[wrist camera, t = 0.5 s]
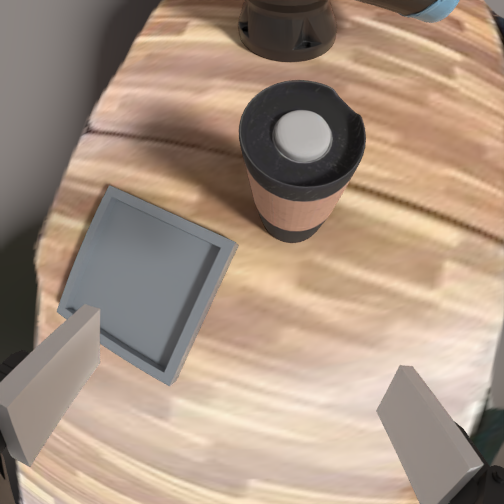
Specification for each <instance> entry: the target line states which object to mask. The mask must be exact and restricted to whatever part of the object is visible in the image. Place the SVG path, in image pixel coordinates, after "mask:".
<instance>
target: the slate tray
mask: <svg viewBox="0 0 504 504" xmlns="http://www.w3.org/2000/svg"><path fill="white" fill-rule="evenodd" d="M238 246H239V245H238V244H237V243H236V242H234V241H232V240H230V239H227V238H225V237H223V236H221V235H219V234H216V233H214V232H212V231H210V230H208V229H205V228H203V227H201V226H199V225H196V224H194V223H192V222H190V221H188V220H185V219H183V218H181V217H179V216H177V215H174V214H172V213H170V212H168V211H166V210H163V209H161V208H159V207H157V206H154V205H152V204H150V203H148V202H146V201H143V200H141V199H139V198H137V197H135V196H132V195H130V194H128V193H126V192H123V191H121V190H119V189H117V188H115V187H112V186H110V185H109V187H108V189H107V191H106V193H105V195H104V197H103V199H102V201H101V203H100V205H99V207H98V209H97V211H96V214H95V216H94V218H93V220H92V222H91V224H90V227H89V229H88V231H87V233H86V236H85V238H84V240H83V243H82V245H81V247H80V250H79V252H78V255H77V257H76V260H75V262H74V265H73V267H72V270H71V272H70V275H69V278H68V280H67V283H66V286H65V289H64V292H63V294H62V297H61V300H60V303H59V306H58V309H57V312H58V313H59V314H60V315H61V316H63V317H64V318H65V319H68V318H69V317H70V316H72V315H73V314H74V313H75V312H76V311H77V310H78V309H80V308H81V307H82V306H83V305H84V304H86V305H89V306H92V307H96V308H99V309H100V344H102V345H103V346H104V347H106V348H107V349H109V350H110V351H112V352H114V353H115V354H117V355H118V356H120V357H121V358H123V359H124V360H126V361H128V362H129V363H131V364H132V365H134V366H136V367H137V368H139V369H140V370H142V371H144V372H145V373H147V374H149V375H151V376H152V377H154V378H156V379H157V380H159V381H161V382H163V383H164V384H166V385H168V386H171V385H172V384H173V383H174V382H176V380H177V378H178V376H179V374H180V372H181V369H182V367H183V365H184V363H185V360H186V358H187V356H188V354H189V352H190V350H191V347H192V345H193V343H194V341H195V339H196V336H197V334H198V332H199V330H200V328H201V325H202V323H203V321H204V319H205V317H206V315H207V312H208V310H209V308H210V306H211V304H212V302H213V299H214V297H215V295H216V293H217V291H218V289H219V287H220V284H221V282H222V280H223V278H224V276H225V274H226V272H227V269H228V267H229V265H230V263H231V261H232V259H233V257H234V255H235V252H236V250H237V248H238Z"/></svg>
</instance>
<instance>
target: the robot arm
mask: <svg viewBox="0 0 504 504" xmlns="http://www.w3.org/2000/svg"><path fill="white" fill-rule="evenodd" d="M356 1H360V2H363V3H367V4H370V5H374V6H377V7H381V8H384V9H387V10H390V11H393V12H396V13H398V14H400V15H402V16H404V17H412V18H415V19H418V20H421V21H424V22H429V23H434V22H438V21H441V20H443V19H444V18H446V17H447V16H448V15H449V14H450V13H451V12H452V11H453V10H454V8H455V7H456V5H457V4H458V2H459V0H356ZM238 27H239V33H240V38H241V40H242V42H243V43H244V45H245V46H246V47H247V48H248V49H249V50H251V51H252V52H254V53H255V54H257V55H259V56H262V57H264V58H268V59H271V60H276V61H284V62H298V61H305V60H310V59H313V58H316V57H319V56H321V55H323V54H324V53H326V52H327V51H328V50H329V49H330V48H331V47H332V45H333V44H334V41H335V37H336V31H337V24H336V20H335V17H334V13H333V10H332V7H331V4H330V1H329V0H245V1H244V4H243V7H242V10H241V14H240V17H239V22H238ZM99 364H100V309H99V308H96V307H92V306H89V305H86V304H84V305H83V306H82V307H81V308H80V309H78V310H77V311H76V312H75V313H74V314H73V315H72V316H70V317H69V318H68V319H67V320H66V321H65V322H64V323H63V324H62V325H60V326H59V327H58V328H57V329H56V330H55V331H54V332H53V333H52V334H50V335H49V336H48V337H47V338H46V339H45V340H44V341H43V342H42V343H41V344H40V345H39V346H37V347H36V348H35V349H34V350H33V351H32V352H31V353H28V352H26V351H24V350H21V351H19V352H16V353H14V354H11V355H10V356H9V357H8V358H7V359H6V360H5V361H3V363H2V364H0V504H15V501H14V498H13V494H12V491H11V487H10V483H9V479H8V475H7V471H6V466H5V462H4V457H3V455H2V451H3V450H4V449H5V447H6V446H7V448H8V450H9V453H10V455H11V457H13V458H15V459H16V460H18V461H20V462H22V463H23V464H25V465H27V466H29V467H30V466H31V465H32V463H33V461H34V460H35V458H36V457H37V455H38V454H39V452H40V450H41V449H42V447H43V446H44V444H45V443H46V441H47V439H48V438H49V436H50V435H51V433H52V432H53V430H54V429H55V427H56V426H57V424H58V423H59V421H60V420H61V418H62V417H63V415H64V414H65V412H66V411H67V409H68V408H69V406H70V405H71V403H72V402H73V400H74V399H75V398H76V396H77V395H78V393H79V392H80V390H81V389H82V387H83V386H84V385H85V383H86V382H87V380H88V379H89V378H90V376H91V375H92V373H93V372H94V370H95V369H96V368H97V366H98V365H99ZM376 411H377V413H378V415H379V417H380V420H381V422H382V424H383V426H384V428H385V430H386V432H387V434H388V436H389V438H390V440H391V442H392V444H393V446H394V449H395V451H396V453H397V455H398V457H399V459H400V461H401V463H402V466H403V468H404V470H405V472H406V474H407V476H408V479H409V481H410V483H411V485H412V487H413V489H414V492H415V494H416V496H417V498H418V501H419V503H420V504H448V503H449V502H450V504H504V468H502V467H500V466H496V465H494V466H491V467H490V466H489V465H488V463H487V462H486V460H485V459H484V457H483V456H482V454H481V453H480V452H479V450H478V449H477V447H476V446H475V444H474V445H473V442H472V440H471V439H470V438H469V436H468V435H467V433H466V432H465V431H464V429H463V428H462V427H461V426H459V425H458V424H457V423H456V422H454V421H453V420H452V418H451V417H450V415H449V414H448V413H447V411H446V410H445V409H444V407H443V406H442V405H441V403H440V402H439V401H438V399H437V398H436V396H435V395H434V394H433V392H432V391H431V390H430V388H429V387H428V386H427V385H426V383H425V382H424V381H423V379H422V378H421V377H420V375H419V374H418V373H417V371H416V370H415V369H414V368H413V366H402V365H400V366H399V368H398V370H397V372H396V374H395V376H394V378H393V380H392V382H391V384H390V386H389V388H388V390H387V392H386V394H385V395H384V397H383V399H382V401H381V403H380V405H379V407H378V408H377V410H376Z"/></svg>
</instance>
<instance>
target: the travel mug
mask: <svg viewBox="0 0 504 504" xmlns="http://www.w3.org/2000/svg"><path fill="white" fill-rule="evenodd" d="M239 141H240V146H241V150H242V154H243V158H244V162H245V166H246V170H247V174H248V178H249V182H250V186H251V190H252V194H253V198H254V202H255V205H256V207H257V210H258V212H259V215H260V217H261V220H262V222H263V224H264V226H265V228H266V229H267V231H268V232H269V233H270V234H271V235H272V236H273V237H275V238H276V239H278V240H280V241H283V242H287V243H297V242H301V241H304V240H306V239H308V238H310V237H311V236H312V235H313V234H314V233H315V232H316V231H317V230H318V229H319V228H320V226H321V225H322V224H323V223H324V221H325V220H326V219H327V218H328V216H329V215H330V214H331V212H332V210H333V209H334V207H335V205H336V204H337V202H338V200H339V198H340V197H341V195H342V193H343V191H344V190H345V188H346V186H347V185H348V183H349V181H350V179H351V177H352V176H353V174H354V172H355V170H356V169H357V167H358V165H359V163H360V161H361V159H362V156H363V153H364V149H365V143H366V134H365V127H364V123H363V120H362V117H361V116H360V115H359V114H357V113H355V112H354V111H353V110H352V109H351V108H350V107H349V106H348V105H347V104H346V103H345V102H344V101H343V100H342V99H341V98H340V97H339V96H338V95H337V93H336V92H335V90H334V89H333V88H331V87H329V86H327V85H324V84H321V83H317V82H312V81H305V80H292V81H285V82H281V83H277V84H274V85H272V86H270V87H268V88H266V89H264V90H263V91H261V92H260V93H258V94H257V95H256V96H255V97H254V98H253V99H252V100H251V101H250V102H249V103H248V105H247V107H246V108H245V110H244V112H243V114H242V117H241V120H240V125H239Z"/></svg>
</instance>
